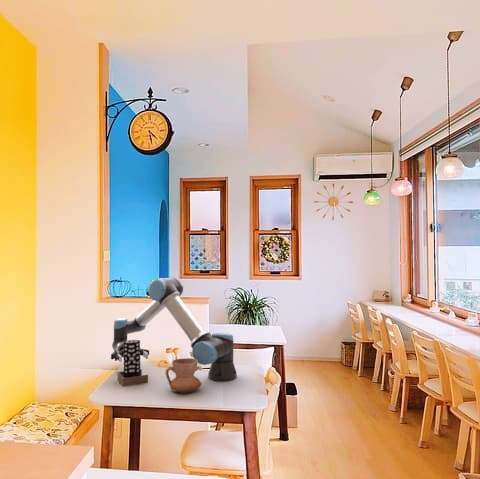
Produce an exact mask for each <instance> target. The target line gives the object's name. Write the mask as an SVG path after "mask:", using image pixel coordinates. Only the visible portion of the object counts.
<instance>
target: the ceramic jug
mask: <svg viewBox="0 0 480 479" xmlns="http://www.w3.org/2000/svg"><path fill="white" fill-rule="evenodd" d="M171 364H172V366H167V368H166V370H165V377H166V379H167V382H168V385H169V387H170V389H171V390H172V391H174V392H176V393H180V394H187V393H192V392H195V391H196V390H198V389H199V388H200V387H201V385H202V382H201V381H200V379H199V378H198V377H197V376H195V374H196V373H195V372H197V371H198V370H200V371H202V369H203V367H202V366H198V364H199V363H198V360H197V359H194V357H193V358H189V357H187V358H176V359H173V360H172V363H171ZM169 371H172V372H174V374H175V375H176V376H175V377H174V378H173V379H170V378H171V377H170V375H169Z"/></svg>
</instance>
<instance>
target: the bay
mask: <svg viewBox="0 0 480 479" xmlns="http://www.w3.org/2000/svg"><path fill="white" fill-rule="evenodd" d="M142 370H143V369H141V376H135V377H128V378H124V371H119V372H117V373H116V374H117V376H116V377H117V378H116V381H117V382H119V384H120V385H121V387H122V388H124V387H132V386H136V385H137V386H138V385H145V384H148V383H149V374H143V373H142V372H143V371H142ZM142 374H143V375H142Z"/></svg>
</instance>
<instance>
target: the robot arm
mask: <svg viewBox="0 0 480 479" xmlns="http://www.w3.org/2000/svg"><path fill="white" fill-rule="evenodd" d="M183 291H184V285H183V282H182V281H181V280H180V279H178V278H176V277H164V278H162V277H160V278H156V279H155V278H154V279H153V280H152V281H151V282H150V284H149V286H148V295H149V298H150V299H151V300H152V302H151V303H149V304H148V305H147V306H146V307H145V308H144V309H143V310H142V311H141V312H140V313H138V315H136V316H135V317H134V318H133V319H130V320H128V318H123V317H122V318H116V319H114V321H113V341H112V345H111V347H112V349H113V352H111V354H110V360H114V361H118V362H120V363H123V359H124V346H123V342H124V341H128V335H129V334H135V333H138V332H142V331H144V330H145V329H146V327H147V324H149V323H150V322H151V321H152V320H153V319H154V318H155V317H156V316H157V315H159V314H160V313H161V312H162V311H163V310H164V309H165V308H166V309H167V311H169V313H170V315H171V316H172V317H173V318H174V320H175V321H176V323H177V324H178V325H179V327H180V329H181V330H182V331H183V332H184V334H185V335H186V337H187V338H188V340H189V341H190V347H191V349H192V350H191V352H192V357H193V359H197V360H198V363H197V364H199V365H203V366H204V365H205V366H207V365H210V367H209V370H208V377H207V378H208V379H209V380H211V381H217V382H226V381H227V382H228V381H233V380H235V379H237V374H238V373H237V369H236V367H235V366H236V365H235V363H234V341H235V340H234V335H233V334H232V333H231V334H230V333H222V332H221V333H220V332H219V333H217V332H215V333H213V332H212V334H211V333H210V332H209V331H205V330H204V329H203V327H202V326H201V325H200V323H199V322H198V320H197V319H196V318H195V316H194V315H193V314H192V312H191V311H190V310H189V309H188V307H187V306H186V305H185V303H184V302H183V301H182V299H181V298H180V297H181V295H182V294H183ZM149 355H150V349H145V348H140V356H142V357H144V358H145V359H146V360H148V359H149Z"/></svg>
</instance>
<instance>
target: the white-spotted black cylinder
mask: <svg viewBox="0 0 480 479" xmlns="http://www.w3.org/2000/svg"><path fill="white" fill-rule="evenodd" d="M123 346H124V358H123V372H124V378H128V377H135V376H141V355H140V349H141V340H140V339H130V340H128V339H127V341H124V342H123Z"/></svg>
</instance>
